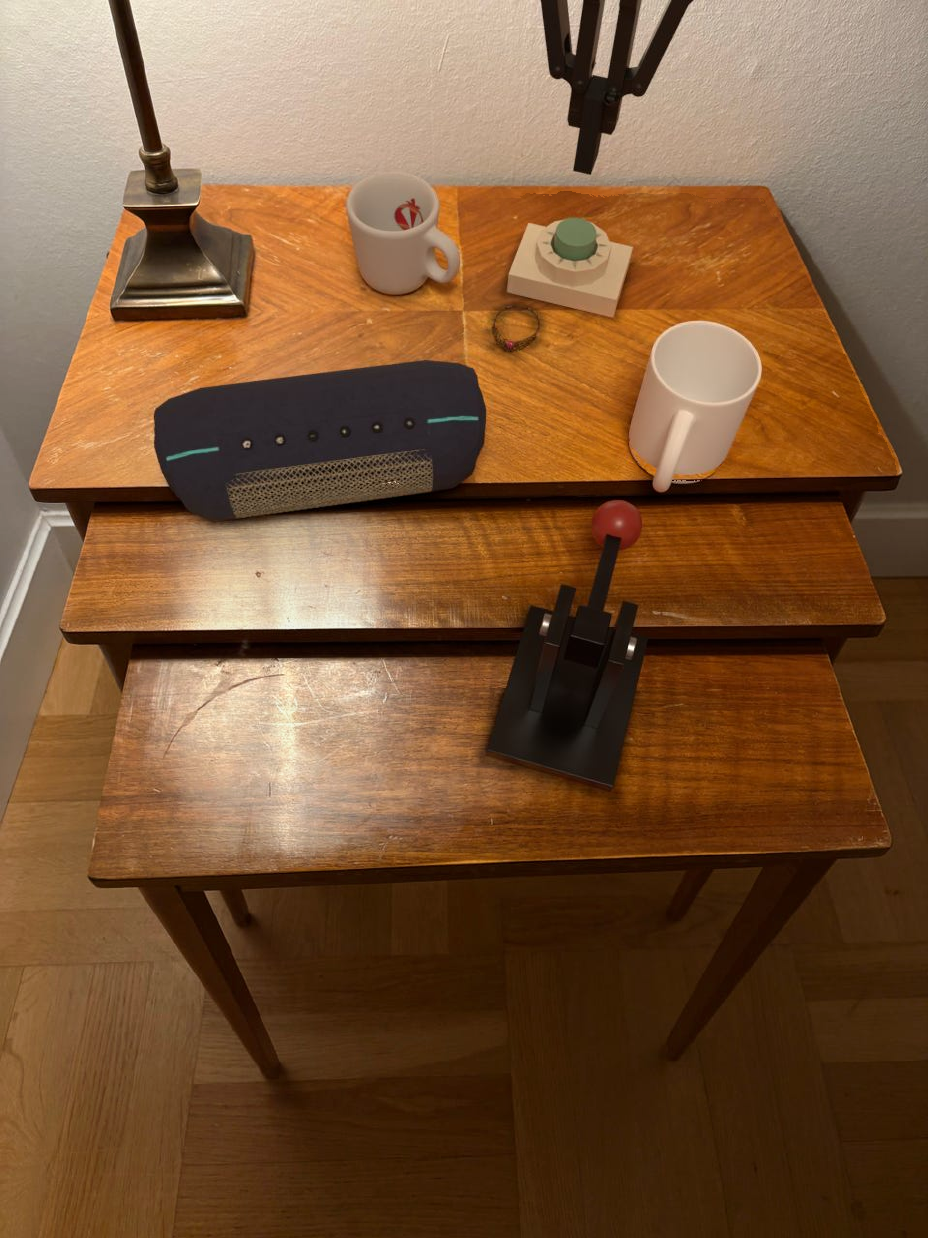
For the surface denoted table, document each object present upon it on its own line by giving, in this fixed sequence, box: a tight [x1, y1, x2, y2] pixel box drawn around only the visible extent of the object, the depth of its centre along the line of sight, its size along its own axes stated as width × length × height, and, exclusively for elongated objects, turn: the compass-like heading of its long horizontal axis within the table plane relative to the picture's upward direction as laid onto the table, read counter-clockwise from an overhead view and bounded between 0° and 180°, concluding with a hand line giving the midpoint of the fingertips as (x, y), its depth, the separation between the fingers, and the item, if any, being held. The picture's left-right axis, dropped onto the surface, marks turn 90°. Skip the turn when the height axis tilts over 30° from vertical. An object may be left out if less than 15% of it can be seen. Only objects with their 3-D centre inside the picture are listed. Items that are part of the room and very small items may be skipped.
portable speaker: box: [153, 359, 487, 522], centre depth 75 cm, size 25×10×10 cm, turn 101°
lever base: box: [485, 583, 649, 793], centre depth 66 cm, size 12×9×12 cm
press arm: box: [564, 499, 643, 668], centre depth 66 cm, size 14×4×4 cm, turn 163°
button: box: [554, 217, 597, 262], centre depth 87 cm, size 4×4×2 cm
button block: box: [506, 219, 634, 319], centre depth 89 cm, size 10×7×4 cm
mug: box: [628, 320, 763, 493], centre depth 76 cm, size 12×8×10 cm
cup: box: [345, 171, 461, 296], centre depth 86 cm, size 11×8×8 cm
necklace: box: [491, 304, 541, 354], centre depth 87 cm, size 4×6×1 cm, turn 166°
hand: (585, 161), depth 80 cm, fingers closed
